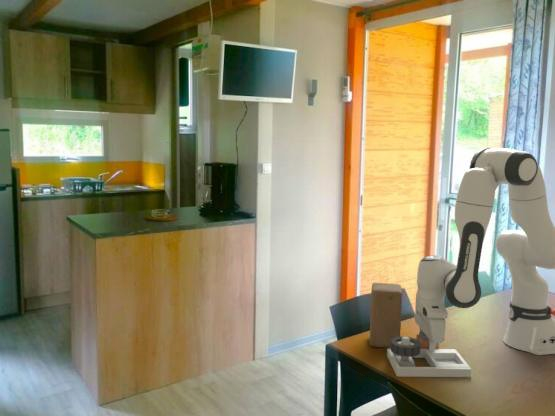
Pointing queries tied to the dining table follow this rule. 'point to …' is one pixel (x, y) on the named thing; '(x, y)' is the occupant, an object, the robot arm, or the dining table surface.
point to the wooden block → (385, 314)
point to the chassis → (430, 363)
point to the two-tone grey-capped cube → (424, 341)
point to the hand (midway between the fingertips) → (427, 345)
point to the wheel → (405, 347)
